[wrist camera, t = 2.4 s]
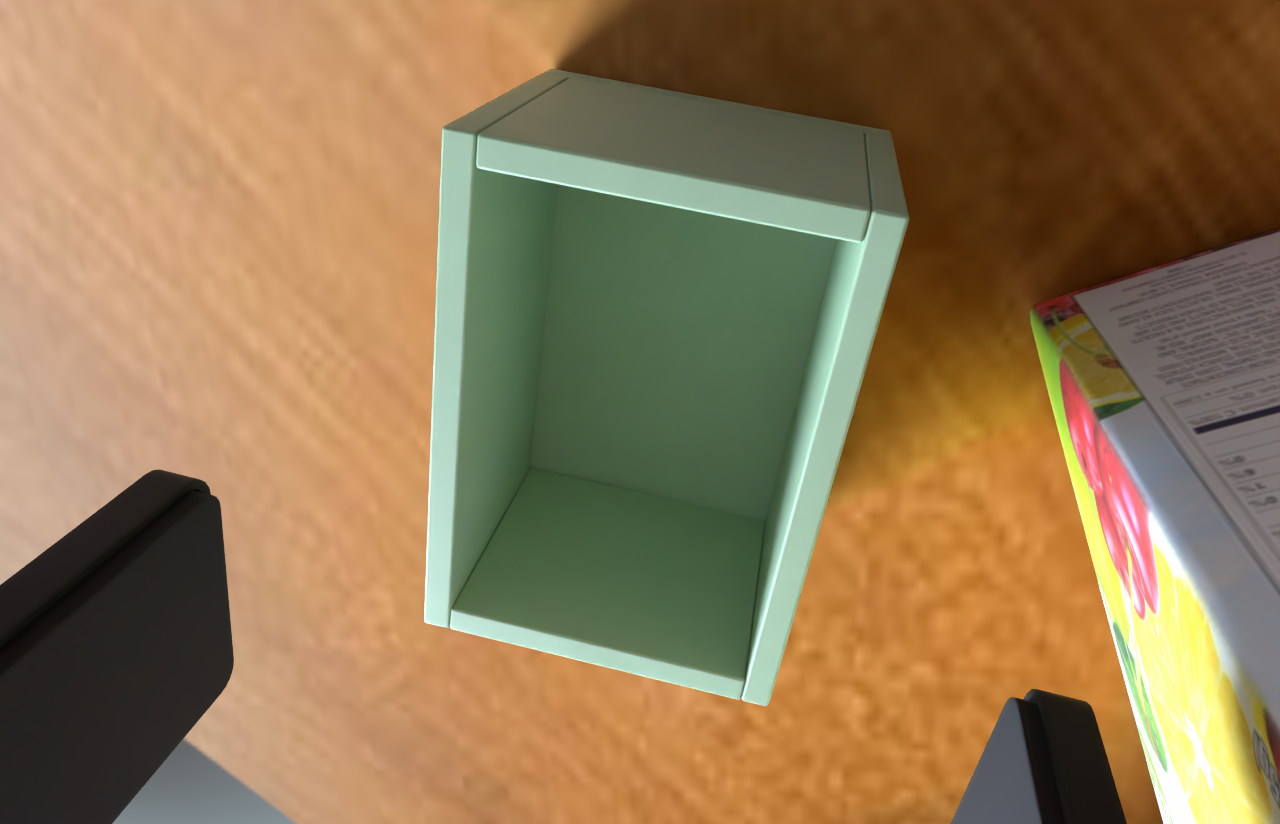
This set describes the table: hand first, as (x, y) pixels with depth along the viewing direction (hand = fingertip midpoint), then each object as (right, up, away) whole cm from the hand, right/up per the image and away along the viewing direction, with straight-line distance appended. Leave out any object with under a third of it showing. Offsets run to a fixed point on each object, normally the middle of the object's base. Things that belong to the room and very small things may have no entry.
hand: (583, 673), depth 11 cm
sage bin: (+1, +5, +9) cm, 10 cm away
